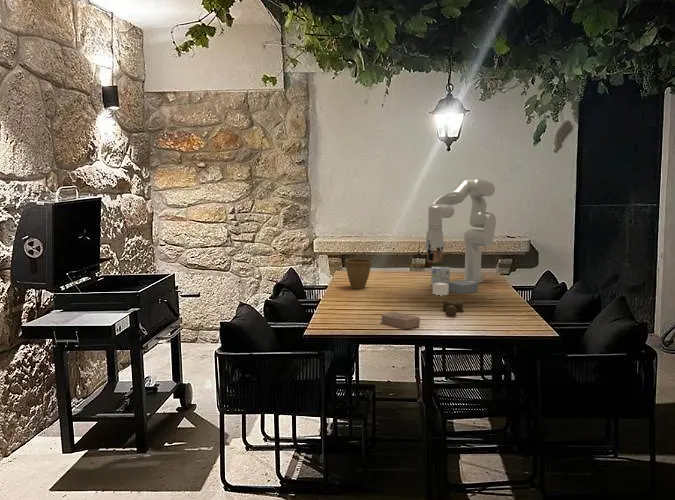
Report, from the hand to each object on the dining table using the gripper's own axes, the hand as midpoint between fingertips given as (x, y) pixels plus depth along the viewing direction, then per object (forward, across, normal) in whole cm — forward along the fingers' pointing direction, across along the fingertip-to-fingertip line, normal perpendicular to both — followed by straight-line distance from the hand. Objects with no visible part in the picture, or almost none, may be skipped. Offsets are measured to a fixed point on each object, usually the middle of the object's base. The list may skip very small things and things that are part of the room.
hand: (434, 259), depth 361 cm
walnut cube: (+1, 0, 0) cm, 1 cm away
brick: (+17, +73, +46) cm, 88 cm away
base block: (+18, -9, +12) cm, 23 cm away
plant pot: (+17, +30, -31) cm, 46 cm away
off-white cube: (+17, +8, +12) cm, 22 cm away
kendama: (+17, +37, +45) cm, 60 cm away
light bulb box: (+18, -13, -7) cm, 23 cm away
